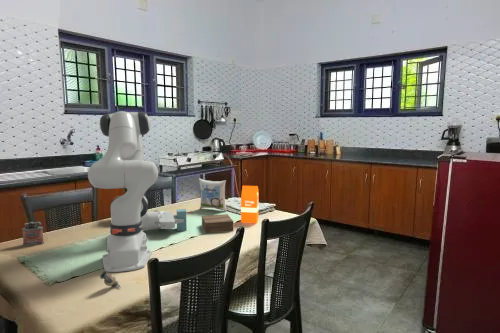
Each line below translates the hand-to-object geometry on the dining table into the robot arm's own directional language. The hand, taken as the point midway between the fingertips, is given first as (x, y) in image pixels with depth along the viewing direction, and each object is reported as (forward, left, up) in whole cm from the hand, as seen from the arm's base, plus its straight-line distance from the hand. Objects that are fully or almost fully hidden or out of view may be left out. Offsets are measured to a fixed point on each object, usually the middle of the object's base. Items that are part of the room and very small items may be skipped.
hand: (183, 218), depth 170 cm
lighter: (-5, +66, -6) cm, 66 cm away
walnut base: (-2, -17, -6) cm, 18 cm away
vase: (-57, +28, -6) cm, 64 cm away
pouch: (+35, -21, -6) cm, 41 cm away
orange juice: (+6, -37, -6) cm, 38 cm away
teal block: (0, +1, -6) cm, 6 cm away
